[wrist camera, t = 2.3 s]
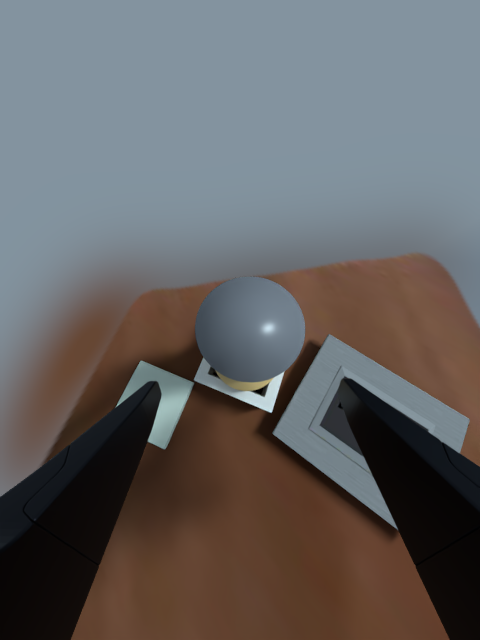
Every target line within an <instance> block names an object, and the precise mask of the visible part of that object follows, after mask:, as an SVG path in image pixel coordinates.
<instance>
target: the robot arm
mask: <svg viewBox="0 0 480 640" xmlns="http://www.w3.org/2000/svg"><path fill="white" fill-rule="evenodd" d="M161 396H162V393H161V389H160V386H159V383H158V382H157V381H148V382H147V383H145V384H144V385H143V386H142V387H141V388H139V389H138V390H137V391H136V392H134V393H133V394H132V395H131V396H129V397H128V398H127V399H126V400H124V401H123V402H122V403H121V404H119V405H118V406H117V407H116V408H114V409H113V410H112V411H111V412H109V413H108V414H107V415H106V416H104V417H103V418H102V419H101V420H99V421H98V422H97V423H96V424H94V425H93V426H92V427H91V428H89V429H88V430H87V431H86V432H84V433H83V434H82V435H81V436H80V437H78V438H77V439H76V440H75V441H73V442H72V443H71V444H70V445H68V446H67V447H66V448H64V449H63V450H62V451H61V452H59V453H58V454H57V455H56V456H54V457H53V458H52V459H51V460H49V461H48V462H47V463H45V464H44V465H43V466H42V467H40V468H39V469H38V470H36V471H35V472H34V473H32V474H31V475H30V476H28V477H27V478H26V479H24V480H23V481H21V483H19V484H17V485H16V486H15V487H14V488H12V489H10V490H9V491H8V492H7V493H5V494H4V495H3V496H1V497H0V640H71V637H72V635H73V632H74V630H75V627H76V624H77V622H78V619H79V617H80V614H81V612H82V609H83V606H84V604H85V601H86V599H87V596H88V594H89V591H90V588H91V586H92V583H93V581H94V578H95V576H96V573H97V570H98V568H99V566H98V565H99V564H100V562H101V560H102V557H103V555H104V552H105V549H106V547H107V544H108V542H109V539H110V537H111V534H112V531H113V529H114V526H115V524H116V521H117V519H118V516H119V513H120V511H121V508H122V506H123V503H124V501H125V498H126V495H127V493H128V490H129V488H130V485H131V483H132V480H133V478H134V475H135V472H136V470H137V467H138V465H139V462H140V460H141V457H142V454H143V452H144V449H145V447H146V444H147V442H148V439H149V436H150V434H151V431H152V428H153V425H154V421H155V418H156V414H157V411H158V407H159V403H160V400H161ZM338 396H339V399H340V402H341V404H342V407H343V410H344V413H345V416H346V418H347V421H348V424H349V426H350V429H351V431H352V433H353V435H354V437H355V440H356V442H357V444H358V446H359V448H360V450H361V452H362V454H363V456H364V459H365V461H366V463H367V465H368V467H369V469H370V471H371V473H372V476H373V478H374V480H375V482H376V484H377V486H378V488H379V490H380V492H381V495H382V497H383V499H384V501H385V503H386V505H387V507H388V509H389V512H390V514H391V516H392V518H393V520H394V522H395V524H396V526H397V528H398V531H399V533H400V535H401V537H402V539H403V541H404V543H405V545H406V548H407V550H408V552H409V554H410V556H411V558H412V560H413V562H414V564H415V565H416V569H417V571H418V573H419V575H420V578H421V580H422V582H423V584H424V586H425V588H426V590H427V592H428V595H429V597H430V599H431V601H432V603H433V605H434V607H435V609H436V611H437V614H438V616H439V618H440V620H441V622H442V624H443V626H444V628H445V631H446V633H447V635H448V637H449V639H450V640H480V467H479V466H478V465H476V464H475V463H473V462H472V461H470V460H469V459H467V458H466V457H464V456H463V455H461V454H460V453H458V452H457V451H455V450H454V449H453V448H451V447H450V446H448V445H447V444H445V443H444V442H441V440H439V439H438V438H437V437H435V436H434V435H432V434H431V433H429V432H428V431H426V430H425V429H424V428H422V427H421V426H419V425H418V424H416V423H415V422H413V421H412V420H411V419H409V418H408V417H406V416H405V415H403V414H402V413H400V412H399V411H398V410H396V409H395V408H393V407H392V406H390V405H389V404H388V403H386V402H385V401H383V400H382V399H380V398H379V397H377V396H376V395H375V394H373V393H372V392H370V391H369V390H367V389H366V388H364V387H363V386H362V385H360V384H359V383H357V382H356V381H354V380H353V379H351V378H343V379H341V381H340V384H339V387H338Z"/></svg>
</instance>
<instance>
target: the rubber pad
mask: <svg viewBox="0 0 480 640" xmlns="http://www.w3.org/2000/svg"><path fill="white" fill-rule="evenodd" d="M148 381H157V382H158V383H159V386H160V389H161V393H162V396H161V400H160V403H159V407H158V411H157V414H156V418H155V421H154V425H153V428H152V431H151V434H150V436H149V439H148V442H150V443H152V444H154V445H156V446H158V447H160V448H163V449H166V448H167V446H168V443H169V441H170V439H171V436H172V434H173V432H174V430H175V427H176V425H177V423H178V420H179V418H180V416H181V413H182V411H183V409H184V406H185V404H186V402H187V400H188V397H189V395H190V393H191V390H192V388H193V386H194V382H191V381H189V380H187V379H184V378H182V377H180V376H177V375H175V374H172V373H170V372H168V371H165V370H163V369H161V368H158V367H156V366H153V365H151V364H149V363H146V362H144V361H140V363H139V364H138V366H137V368H136V370H135V372H134V374H133V376H132V378H131V379H130V381H129V383H128V385H127V387H126V389H125V391H124V393H123V394H122V396H121V398H120V400H119V402H118V404H117V406H118V405H119V404H121V403H122V402H123V401H124V400H126V399H127V398H128V397H129V396H131V395H132V394H133V393H134V392H136V391H137V390H138V389H139V388H141V387H142V386H143V385H144V384H145V383H147V382H148ZM117 406H116V407H117Z"/></svg>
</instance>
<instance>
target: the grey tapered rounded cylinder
mask: <svg viewBox="0 0 480 640" xmlns="http://www.w3.org/2000/svg"><path fill="white" fill-rule="evenodd" d="M195 334H196V340H197V344H198V347H199V349H200V352H201V354H202V355H203V357H204V358H205V360H206V361H207V362H208V363H209V365H210V366H211V367H212V368H214V369H215V371H216V373H217V374H218V376H219V377H220V379H221V380H222V381H223V382H224V383H225V384H227V385H228V386H230V387H232V388H234V389H237V390H241V391H253V390H257V389H260V388H262V387H264V386H266V385H267V384H268V383H269V382H270V381H271V380H272V379H273V378H274V377H276V376H278V375H280V374H281V373H283V372H284V371H285V370H287V369H288V368H289V367H290V366H291V365H292V364H293V363H294V361H295V360H296V358H297V357H298V355H299V353H300V351H301V349H302V346H303V343H304V338H305V322H304V317H303V314H302V311H301V309H300V307H299V305H298V303H297V302H296V300H295V299H294V297H293V296H292V295H291V294H290V293H289V292H288V291H287V290H286V289H285V288H283V287H282V286H280V285H279V284H277V283H275V282H273V281H270V280H268V279H264V278H260V277H239V278H235V279H232V280H229V281H226V282H224V283H222V284H221V285H219V286H218V287H216V288H215V289H214V290H213V291H211V292H210V294H209V295H208V296H207V297H206V298H205V300H204V301H203V303H202V304H201V306H200V309H199V311H198V314H197V318H196V324H195Z"/></svg>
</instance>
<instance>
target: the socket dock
mask: <svg viewBox="0 0 480 640" xmlns="http://www.w3.org/2000/svg"><path fill="white" fill-rule="evenodd" d="M214 371H215V369H214V368H212V367H211V366H210V365H209V363H208V362H207V361H206V360H205V358H204V357H203V360H202V362H201V364H200V367H199V369H198V371H197V374H196V376H195V378H194V381H197V382H199V383H201V384H204V385H206V386H208V387H211V388H213V389H216V390H218V391H220V392H223V393H225V394H228V395H230V396H232V397H235V398H237V399H239V400H242V401H244V402H247V403H249V404H251V405H254V406H256V407H259V408H261V409H263V410H266V411H268V412H270V413H272V410H273V407H274V404H275V401H276V397H277V394H278V391H279V387H280V384H281V381H282V377H283V374H284V372H283V373H281V374H280V375H278V376H276V377H274V378H273V379H272V380H271V381H270V382H269V383H268V384H267V385H266V386H264V388H263V391H262V394H259V393H257V392H254V391H241V390H237V389H234V388H232V387H230V386H228V385H227V384H225V383H224V382H223V381H222V380H221V379H220V377H218V376H215V375H213V373H214Z"/></svg>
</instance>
